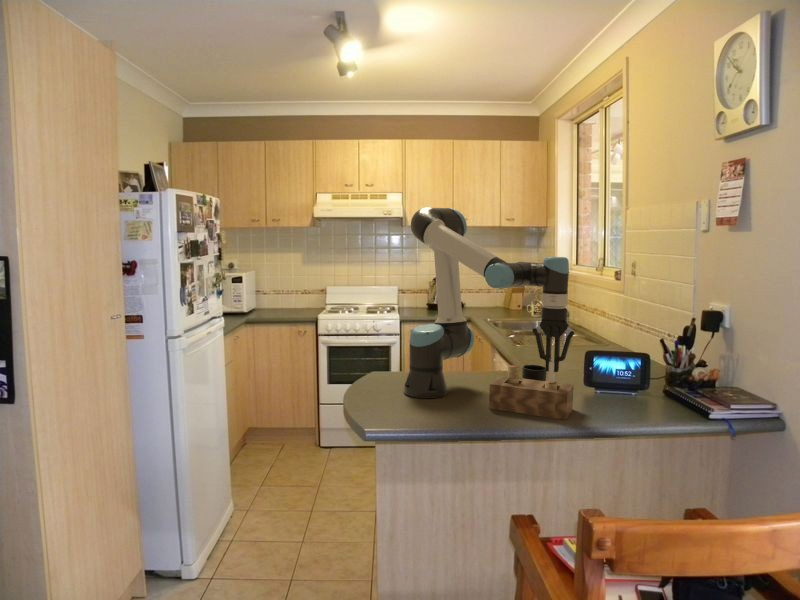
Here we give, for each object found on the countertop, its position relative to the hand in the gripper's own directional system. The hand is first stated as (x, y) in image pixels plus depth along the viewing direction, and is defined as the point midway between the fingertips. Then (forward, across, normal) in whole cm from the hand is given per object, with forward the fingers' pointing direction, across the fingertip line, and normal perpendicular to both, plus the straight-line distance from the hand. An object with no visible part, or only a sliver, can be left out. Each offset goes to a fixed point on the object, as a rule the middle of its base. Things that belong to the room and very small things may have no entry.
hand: (551, 381), depth 175 cm
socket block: (+10, -6, 0) cm, 11 cm away
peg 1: (+4, -12, 0) cm, 13 cm away
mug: (+10, -10, +19) cm, 24 cm away
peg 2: (+8, 0, 0) cm, 8 cm away
